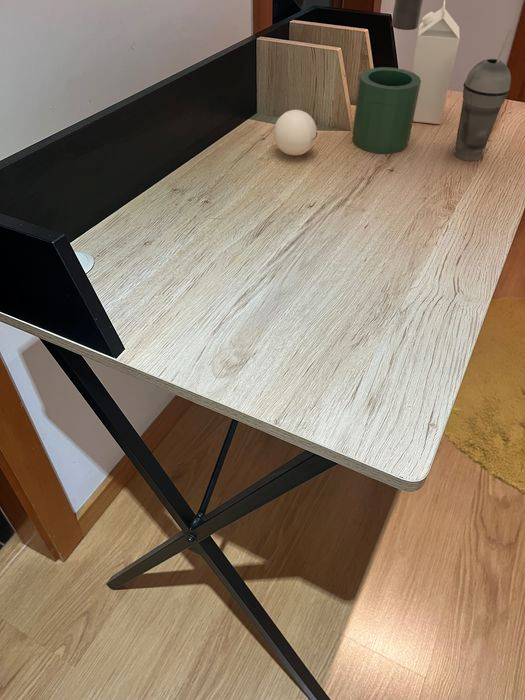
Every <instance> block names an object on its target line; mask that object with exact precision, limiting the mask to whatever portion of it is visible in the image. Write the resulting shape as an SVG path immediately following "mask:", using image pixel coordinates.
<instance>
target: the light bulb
mask: <svg viewBox="0 0 525 700" xmlns="http://www.w3.org/2000/svg"><path fill="white" fill-rule="evenodd" d="M317 136H318V131H317V125H316V123H315V120H314V118H313V117H312V116H311V115H310V114H309V113H307V111H303V110H300V109H291V110H288V111H286V112H284V113H283V114H282V115H280V116H279V117H278V119H277V120H276V122H275V125H274V129H273V140H274V142H275V144H276V145H277V148H278V149H279V150H280V151H282V153H284V154H286V155H289V156H293V157H295V156H301V155H305V154H306V153H307V152H308V151H310V150H311V149H312V147H313V146H314V144H315V143H316V139H317Z"/></svg>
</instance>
